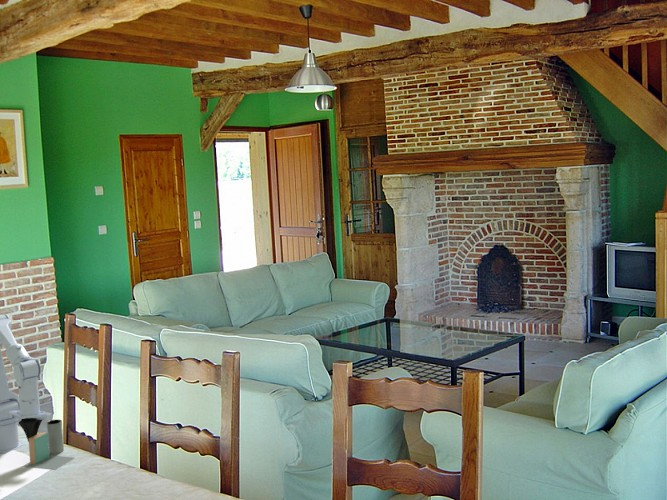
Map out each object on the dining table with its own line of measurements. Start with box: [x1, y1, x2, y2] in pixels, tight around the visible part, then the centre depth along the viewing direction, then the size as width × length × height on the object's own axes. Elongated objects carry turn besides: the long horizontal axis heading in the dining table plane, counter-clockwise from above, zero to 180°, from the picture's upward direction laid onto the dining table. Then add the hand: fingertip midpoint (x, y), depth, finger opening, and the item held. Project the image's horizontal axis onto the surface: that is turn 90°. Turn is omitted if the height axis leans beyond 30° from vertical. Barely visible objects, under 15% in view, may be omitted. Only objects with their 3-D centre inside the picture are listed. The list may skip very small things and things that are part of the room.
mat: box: [21, 454, 76, 471], centre depth 230 cm, size 12×10×1 cm
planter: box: [46, 419, 65, 455], centre depth 239 cm, size 4×4×10 cm
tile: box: [28, 431, 50, 464], centre depth 231 cm, size 2×6×8 cm, turn 163°
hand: (32, 441), depth 232 cm, fingers closed
